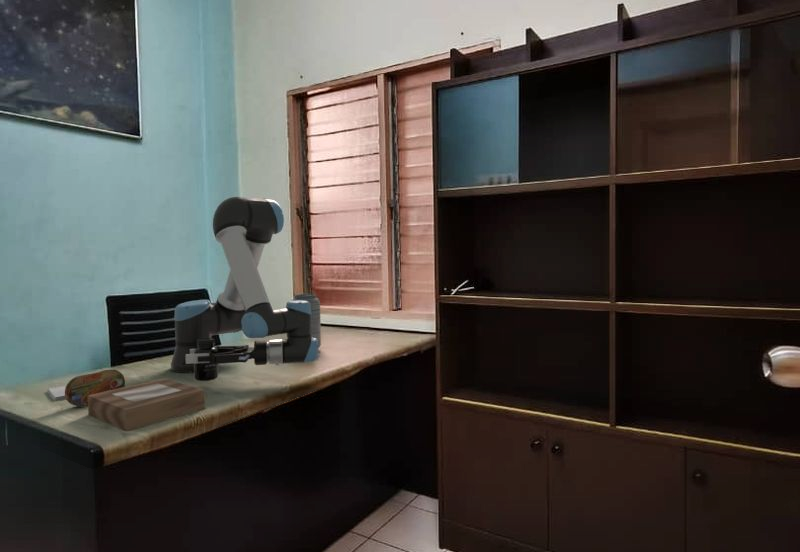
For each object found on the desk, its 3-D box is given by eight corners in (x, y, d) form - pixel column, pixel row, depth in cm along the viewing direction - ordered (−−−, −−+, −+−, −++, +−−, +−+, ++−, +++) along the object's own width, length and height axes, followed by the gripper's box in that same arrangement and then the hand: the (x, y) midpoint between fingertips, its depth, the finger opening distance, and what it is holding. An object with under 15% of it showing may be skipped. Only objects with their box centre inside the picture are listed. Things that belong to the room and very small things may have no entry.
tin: (69, 410, 131) (68, 379, 131) (63, 409, 133) (62, 377, 133) (126, 396, 144) (125, 367, 144) (120, 394, 146) (118, 365, 145)
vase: (285, 352, 201) (284, 295, 200) (302, 347, 212) (301, 293, 210) (310, 355, 197) (309, 296, 195) (326, 349, 207) (325, 293, 206)
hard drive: (88, 391, 145) (79, 383, 154) (54, 397, 140) (47, 388, 149) (88, 397, 145) (79, 388, 154) (54, 403, 140) (47, 393, 149)
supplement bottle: (210, 382, 148) (209, 341, 147) (189, 380, 149) (188, 340, 149) (223, 375, 155) (222, 337, 154) (203, 374, 156) (201, 336, 155)
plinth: (88, 414, 128) (87, 395, 128) (164, 395, 144) (164, 378, 144) (126, 431, 116) (125, 409, 116) (204, 408, 132) (204, 389, 132)
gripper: (267, 372, 147) (182, 377, 141) (268, 357, 166) (193, 361, 160) (266, 346, 146) (181, 350, 141) (267, 334, 165) (193, 337, 160)
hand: (188, 356), depth 150 cm, fingers closed on supplement bottle, 7 cm apart
